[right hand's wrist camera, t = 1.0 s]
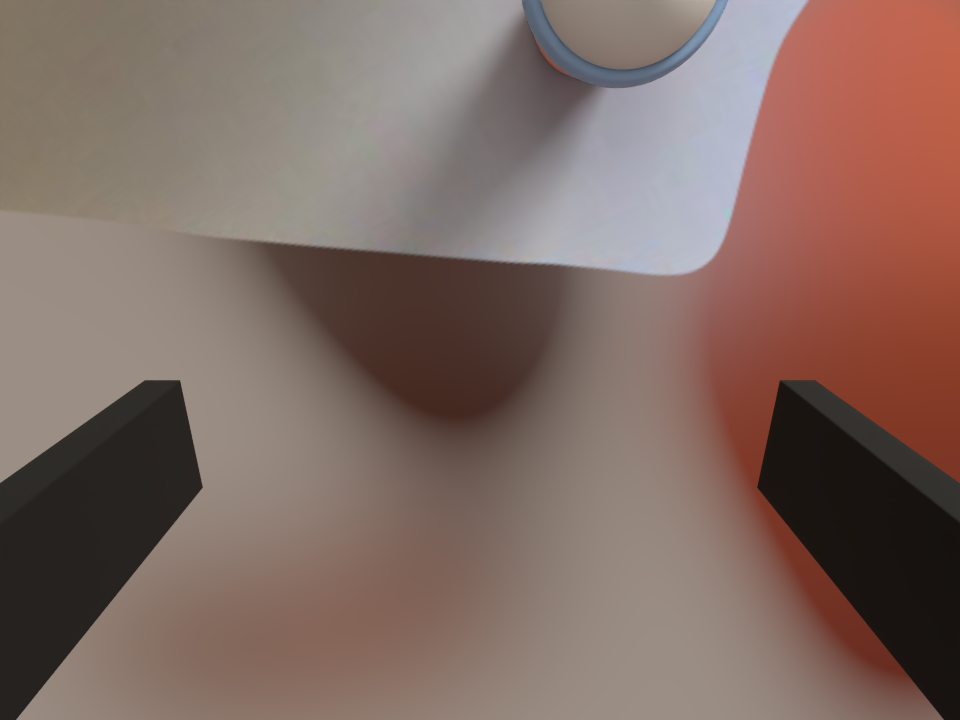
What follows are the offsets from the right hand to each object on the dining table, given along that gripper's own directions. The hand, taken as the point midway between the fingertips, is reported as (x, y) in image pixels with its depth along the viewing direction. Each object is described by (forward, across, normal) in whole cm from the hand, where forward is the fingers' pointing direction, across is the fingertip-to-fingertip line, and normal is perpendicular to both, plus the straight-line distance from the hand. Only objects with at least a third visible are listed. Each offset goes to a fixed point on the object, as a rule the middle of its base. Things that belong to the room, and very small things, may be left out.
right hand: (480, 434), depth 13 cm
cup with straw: (+27, +6, +13) cm, 31 cm away
